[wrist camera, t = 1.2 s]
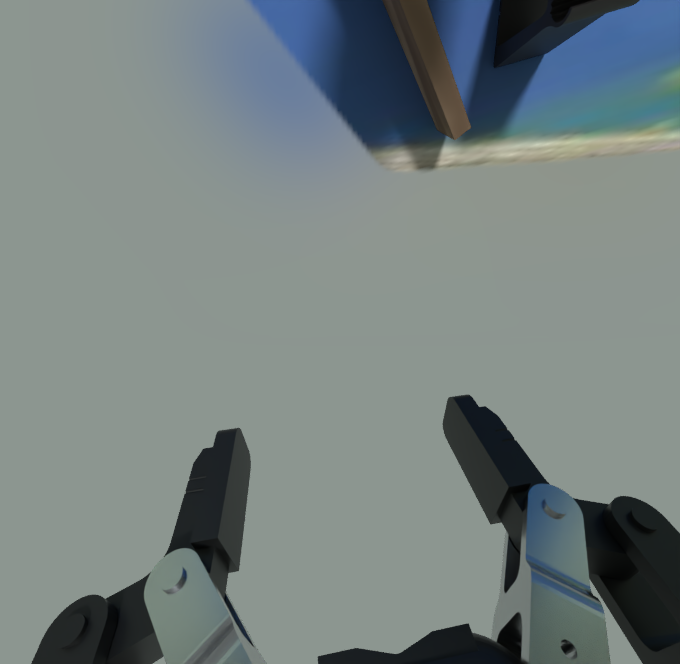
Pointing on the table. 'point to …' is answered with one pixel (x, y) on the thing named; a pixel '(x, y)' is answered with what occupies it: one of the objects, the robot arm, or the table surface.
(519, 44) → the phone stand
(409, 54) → the board
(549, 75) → the table surface
